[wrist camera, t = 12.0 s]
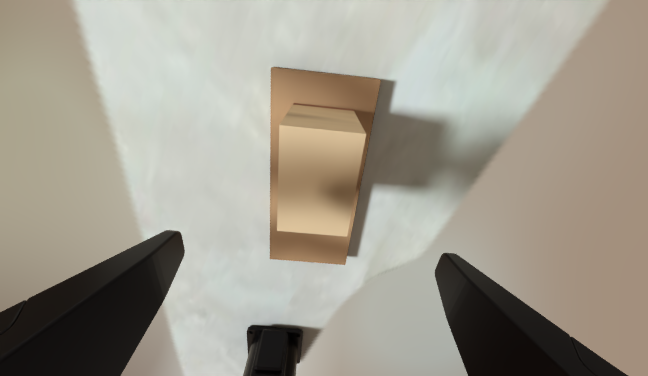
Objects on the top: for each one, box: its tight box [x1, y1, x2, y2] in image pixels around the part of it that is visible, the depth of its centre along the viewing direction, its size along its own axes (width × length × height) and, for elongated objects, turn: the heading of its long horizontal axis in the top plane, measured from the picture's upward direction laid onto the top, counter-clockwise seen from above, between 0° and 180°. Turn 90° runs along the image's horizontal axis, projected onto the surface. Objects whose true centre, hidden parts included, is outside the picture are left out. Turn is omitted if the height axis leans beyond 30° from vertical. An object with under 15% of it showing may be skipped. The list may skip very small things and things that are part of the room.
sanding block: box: [277, 103, 366, 237], centre depth 16 cm, size 6×4×6 cm, turn 174°
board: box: [270, 67, 381, 265], centre depth 20 cm, size 16×7×1 cm, turn 174°
